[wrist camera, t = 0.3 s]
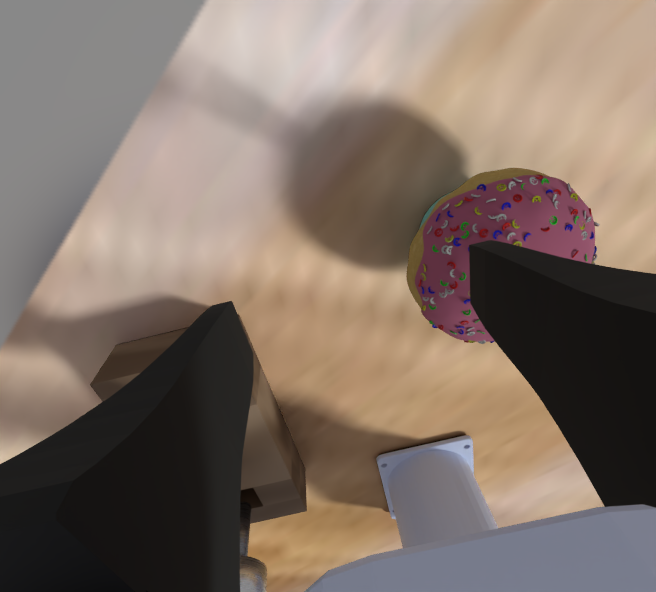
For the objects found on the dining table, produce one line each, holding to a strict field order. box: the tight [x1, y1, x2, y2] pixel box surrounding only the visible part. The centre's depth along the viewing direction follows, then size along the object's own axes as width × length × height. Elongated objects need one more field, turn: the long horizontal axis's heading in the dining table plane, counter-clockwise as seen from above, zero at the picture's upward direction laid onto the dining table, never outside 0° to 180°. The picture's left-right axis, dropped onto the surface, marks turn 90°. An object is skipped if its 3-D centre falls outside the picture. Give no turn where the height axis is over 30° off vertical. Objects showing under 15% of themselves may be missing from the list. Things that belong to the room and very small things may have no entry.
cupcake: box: [407, 168, 599, 344], centre depth 16 cm, size 9×8×12 cm
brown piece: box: [90, 315, 307, 524], centre depth 25 cm, size 16×8×4 cm, turn 13°
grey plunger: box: [240, 502, 267, 592], centre depth 23 cm, size 4×4×6 cm
